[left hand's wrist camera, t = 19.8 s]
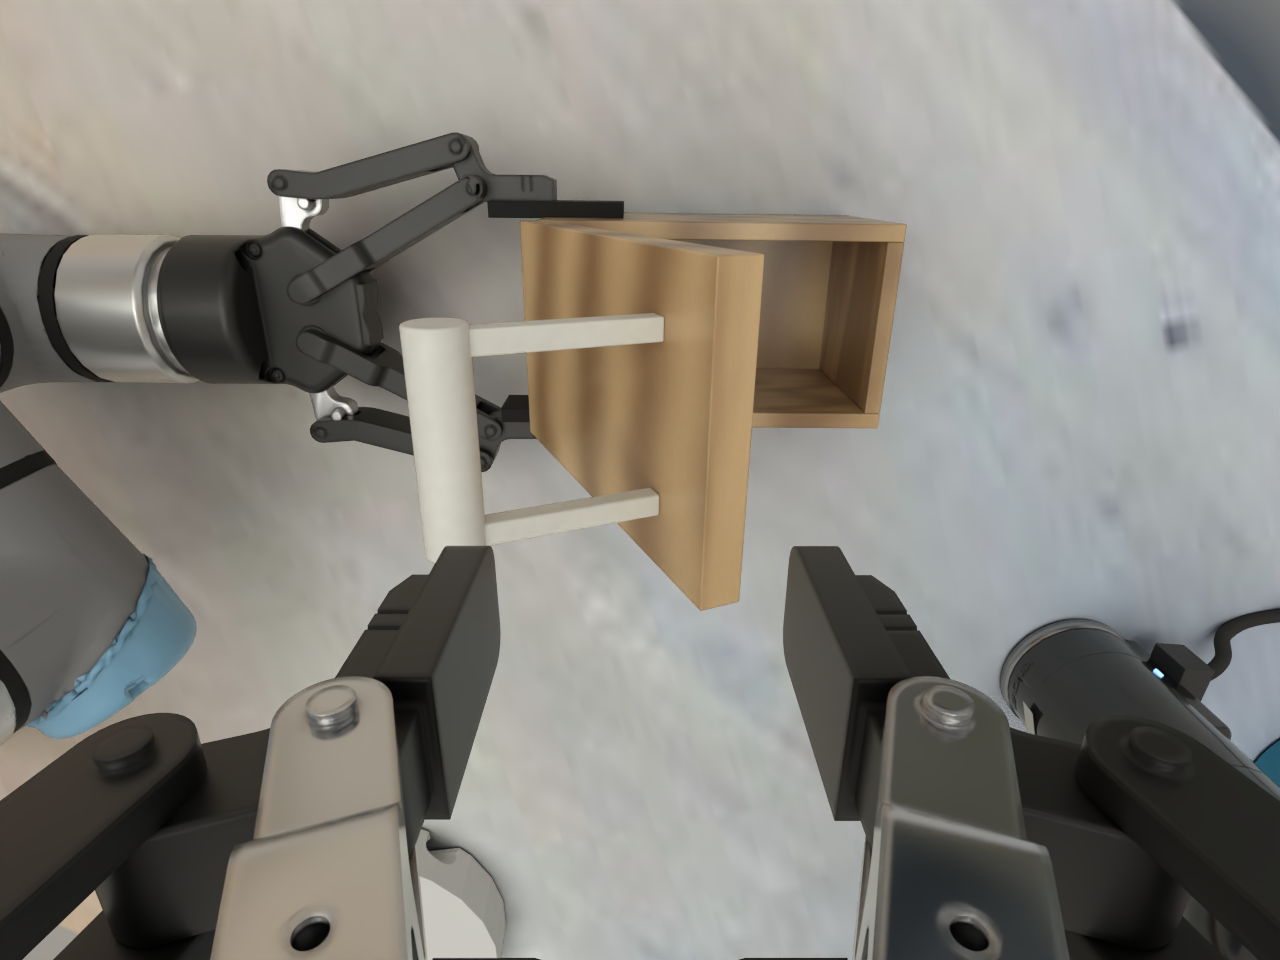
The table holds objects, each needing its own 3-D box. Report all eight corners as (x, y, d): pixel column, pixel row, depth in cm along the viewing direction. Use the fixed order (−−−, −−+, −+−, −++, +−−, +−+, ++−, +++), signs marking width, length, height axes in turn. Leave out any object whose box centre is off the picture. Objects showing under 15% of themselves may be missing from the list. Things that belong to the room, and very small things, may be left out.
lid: (765, 254, 17) (408, 264, 14) (739, 602, 21) (452, 672, 18) (548, 220, 32) (349, 222, 29) (555, 428, 35) (380, 450, 32)
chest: (845, 215, 42) (907, 224, 32) (827, 378, 45) (878, 428, 36) (558, 211, 42) (535, 219, 32) (563, 375, 45) (544, 426, 36)
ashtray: (529, 987, 67) (523, 1034, 63) (288, 1011, 68) (269, 1058, 64) (474, 802, 58) (463, 844, 55) (199, 833, 59) (170, 876, 56)
